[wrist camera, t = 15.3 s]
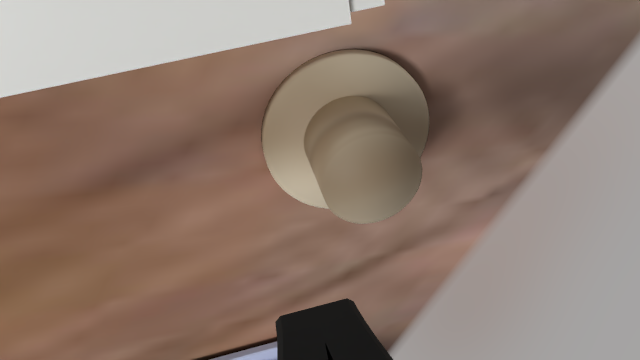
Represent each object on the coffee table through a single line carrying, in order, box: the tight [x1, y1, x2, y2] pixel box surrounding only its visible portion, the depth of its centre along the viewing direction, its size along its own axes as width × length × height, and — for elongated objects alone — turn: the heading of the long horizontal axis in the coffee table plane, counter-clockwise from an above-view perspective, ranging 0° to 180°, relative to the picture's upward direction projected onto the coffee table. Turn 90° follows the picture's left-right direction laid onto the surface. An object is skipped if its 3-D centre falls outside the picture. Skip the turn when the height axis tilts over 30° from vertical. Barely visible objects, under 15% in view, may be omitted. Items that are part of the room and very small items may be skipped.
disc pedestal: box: [261, 49, 429, 224], centre depth 18 cm, size 6×6×4 cm
